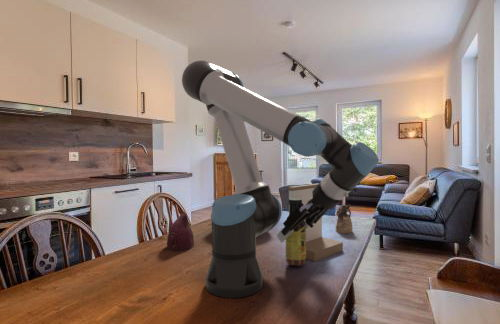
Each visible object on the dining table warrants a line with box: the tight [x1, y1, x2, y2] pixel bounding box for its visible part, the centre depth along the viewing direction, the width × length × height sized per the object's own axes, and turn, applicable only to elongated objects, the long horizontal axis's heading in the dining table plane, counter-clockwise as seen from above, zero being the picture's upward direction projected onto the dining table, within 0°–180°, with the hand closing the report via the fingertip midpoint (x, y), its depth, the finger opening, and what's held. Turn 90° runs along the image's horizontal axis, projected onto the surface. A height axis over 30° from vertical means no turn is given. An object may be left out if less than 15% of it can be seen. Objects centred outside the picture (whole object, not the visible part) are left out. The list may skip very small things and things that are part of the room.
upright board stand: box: [287, 182, 344, 262], centre depth 105 cm, size 17×11×23 cm, turn 130°
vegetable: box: [166, 211, 195, 252], centre depth 112 cm, size 10×10×15 cm
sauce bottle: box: [285, 198, 307, 267], centre depth 92 cm, size 6×6×20 cm
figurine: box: [335, 203, 353, 234], centre depth 132 cm, size 7×7×12 cm
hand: (287, 236), depth 95 cm, fingers closed on sauce bottle, 6 cm apart
